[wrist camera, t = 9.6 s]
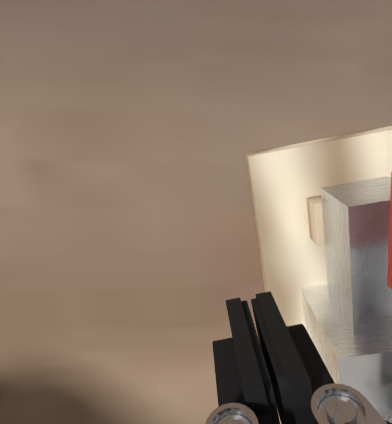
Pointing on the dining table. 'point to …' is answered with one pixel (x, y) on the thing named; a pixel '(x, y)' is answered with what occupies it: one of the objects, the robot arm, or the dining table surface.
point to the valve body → (355, 290)
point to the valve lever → (390, 274)
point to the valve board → (305, 206)
